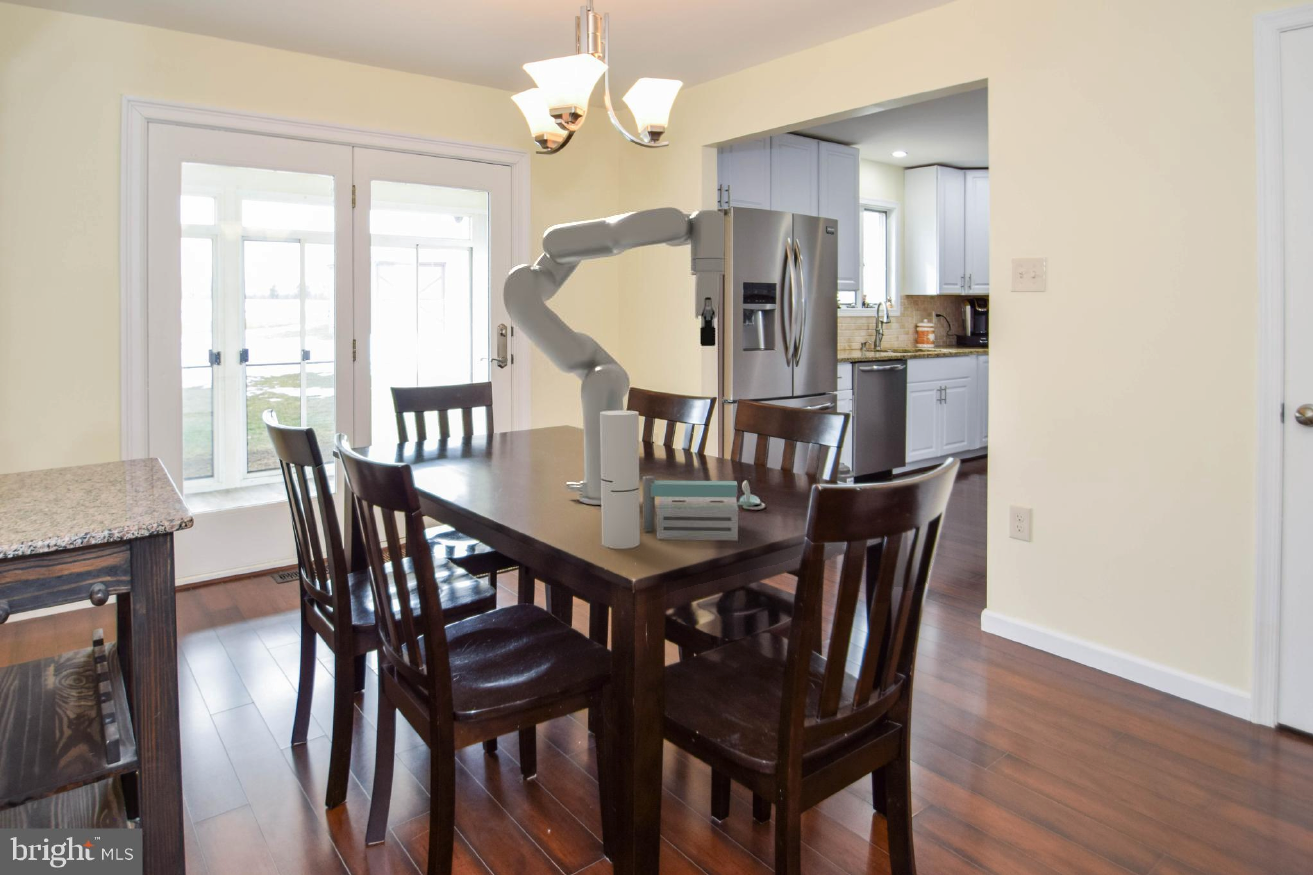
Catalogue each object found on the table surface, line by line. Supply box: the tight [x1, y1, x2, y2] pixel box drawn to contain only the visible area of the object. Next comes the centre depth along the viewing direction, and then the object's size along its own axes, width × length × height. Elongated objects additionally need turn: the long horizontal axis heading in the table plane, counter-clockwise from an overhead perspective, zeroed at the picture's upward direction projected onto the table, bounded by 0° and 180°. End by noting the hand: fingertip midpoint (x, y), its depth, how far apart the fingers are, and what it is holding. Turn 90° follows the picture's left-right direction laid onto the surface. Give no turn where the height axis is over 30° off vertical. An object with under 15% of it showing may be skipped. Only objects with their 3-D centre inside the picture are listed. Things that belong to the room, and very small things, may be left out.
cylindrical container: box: [600, 409, 641, 550], centre depth 150 cm, size 7×7×25 cm
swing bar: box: [642, 475, 738, 532], centre depth 159 cm, size 19×4×11 cm, turn 86°
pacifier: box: [737, 480, 766, 511], centre depth 180 cm, size 7×6×6 cm
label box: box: [656, 497, 739, 541], centre depth 159 cm, size 16×12×6 cm
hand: (707, 345), depth 181 cm, fingers open, 9 cm apart
